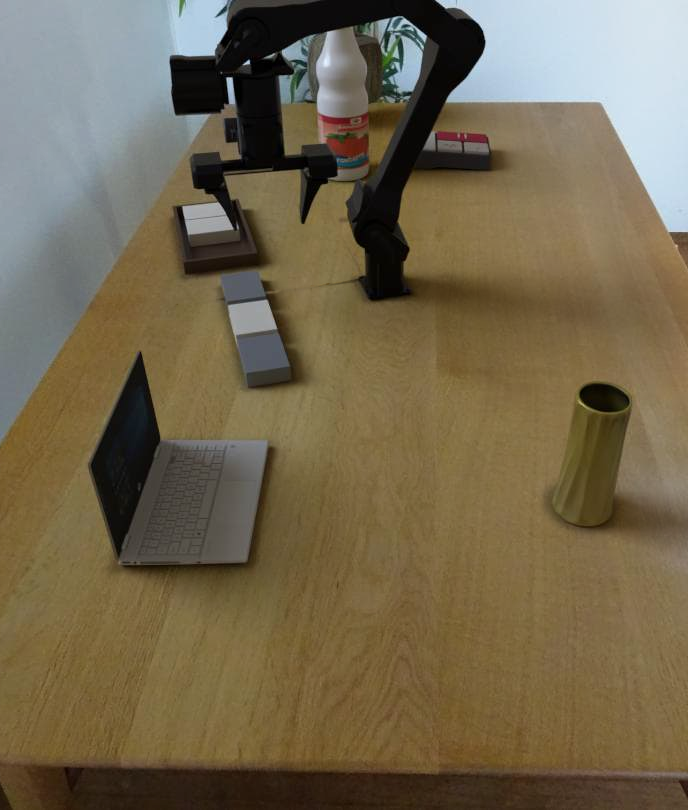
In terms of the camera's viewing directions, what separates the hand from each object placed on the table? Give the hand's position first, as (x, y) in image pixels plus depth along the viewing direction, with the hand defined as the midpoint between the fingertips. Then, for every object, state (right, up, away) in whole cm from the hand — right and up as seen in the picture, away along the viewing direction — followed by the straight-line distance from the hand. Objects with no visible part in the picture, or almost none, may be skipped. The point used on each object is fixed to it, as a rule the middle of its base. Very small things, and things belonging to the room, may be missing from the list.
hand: (269, 226), depth 111 cm
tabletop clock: (+7, +38, +68) cm, 79 cm away
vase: (+37, -35, -27) cm, 58 cm away
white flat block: (-2, -14, 0) cm, 15 cm away
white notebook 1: (-14, +6, +26) cm, 30 cm away
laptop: (-3, -35, -27) cm, 44 cm away
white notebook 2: (-12, +3, +21) cm, 25 cm away
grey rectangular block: (-5, -9, +6) cm, 12 cm away
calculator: (+28, +24, +50) cm, 63 cm away
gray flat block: (+1, -20, -7) cm, 21 cm away
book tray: (-12, +2, +21) cm, 24 cm away
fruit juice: (+8, +20, +45) cm, 49 cm away
